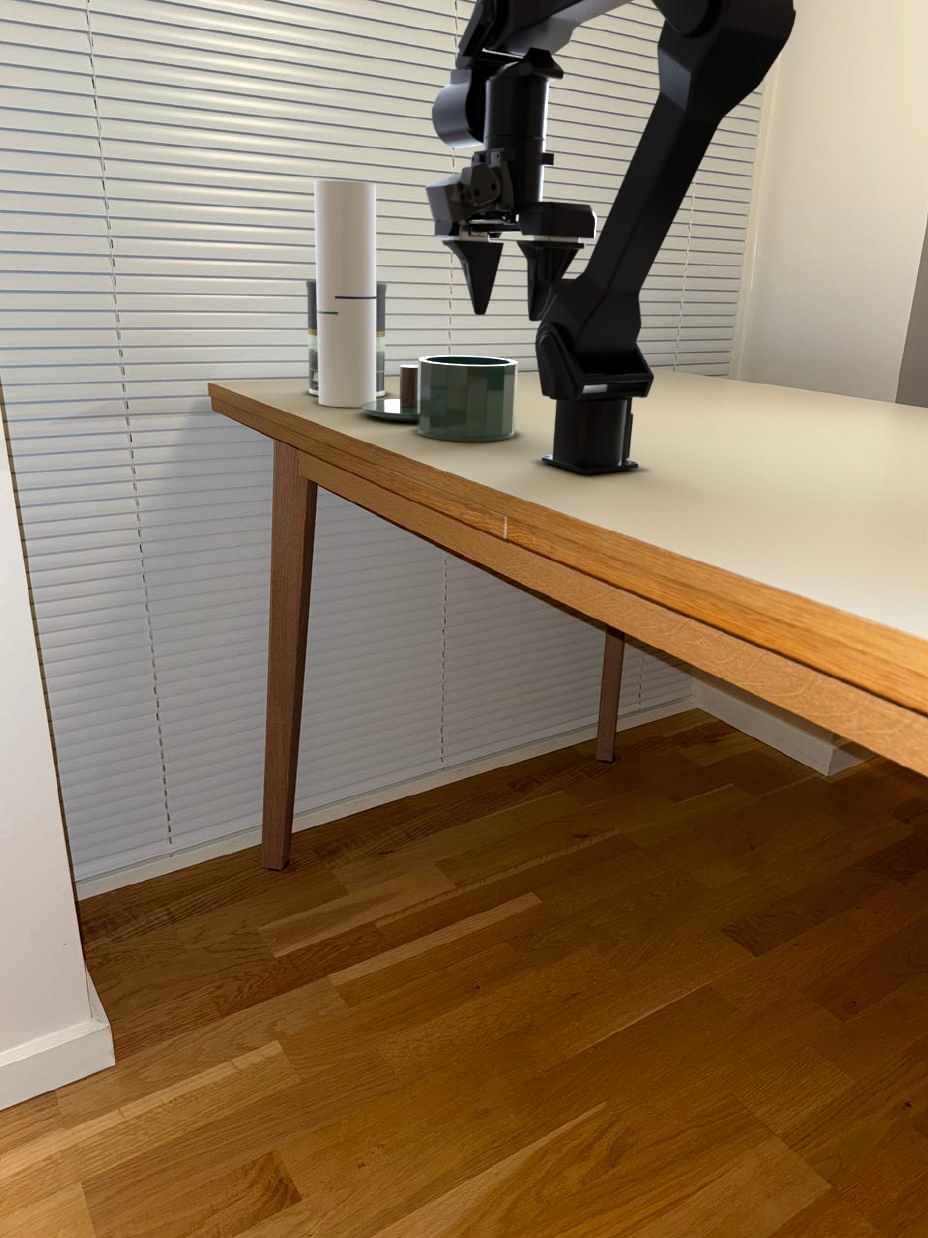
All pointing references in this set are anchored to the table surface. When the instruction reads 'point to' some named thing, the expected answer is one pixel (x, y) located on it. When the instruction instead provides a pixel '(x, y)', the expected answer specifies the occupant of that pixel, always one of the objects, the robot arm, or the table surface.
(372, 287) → the cylindrical container
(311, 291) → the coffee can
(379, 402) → the lid
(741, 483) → the table surface
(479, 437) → the pot
